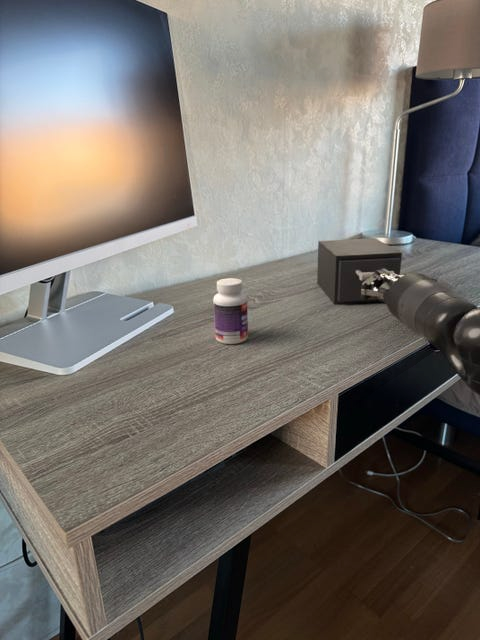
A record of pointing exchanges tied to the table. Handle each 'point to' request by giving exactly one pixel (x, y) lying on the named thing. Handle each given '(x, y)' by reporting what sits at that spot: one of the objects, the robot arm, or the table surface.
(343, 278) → the dark drawer box
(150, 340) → the table surface
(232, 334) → the pill bottle
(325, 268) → the small drawer unit
